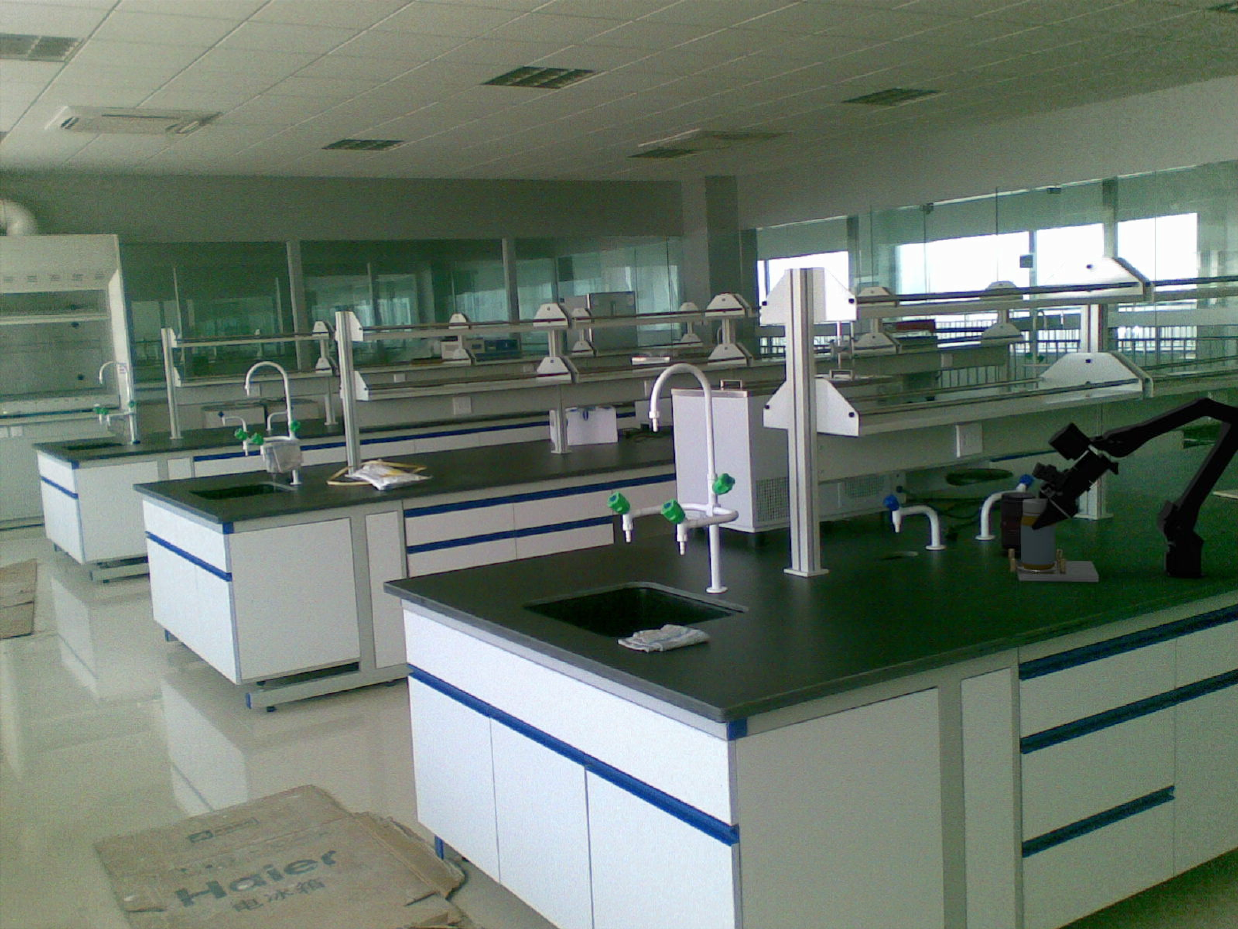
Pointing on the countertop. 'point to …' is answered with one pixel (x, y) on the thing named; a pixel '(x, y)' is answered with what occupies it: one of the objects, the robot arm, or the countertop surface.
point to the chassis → (1056, 570)
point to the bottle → (1036, 538)
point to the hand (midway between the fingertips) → (1029, 525)
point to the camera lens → (1012, 520)
